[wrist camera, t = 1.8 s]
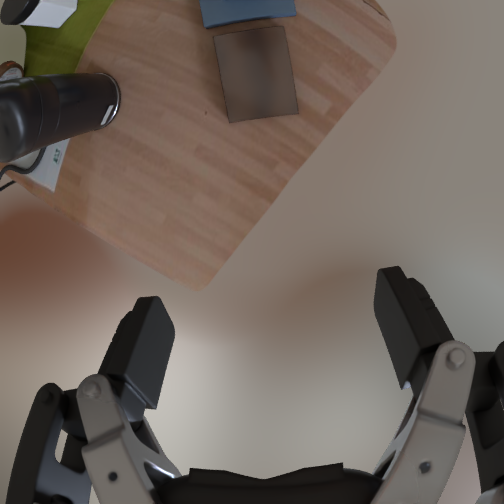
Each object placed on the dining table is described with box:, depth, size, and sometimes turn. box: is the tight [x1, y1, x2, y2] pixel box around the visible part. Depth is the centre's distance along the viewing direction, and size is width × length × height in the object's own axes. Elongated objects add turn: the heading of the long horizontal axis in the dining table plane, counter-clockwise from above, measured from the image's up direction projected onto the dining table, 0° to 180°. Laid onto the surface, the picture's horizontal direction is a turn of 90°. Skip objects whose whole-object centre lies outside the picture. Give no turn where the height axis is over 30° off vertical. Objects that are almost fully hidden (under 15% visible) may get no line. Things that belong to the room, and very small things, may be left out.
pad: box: [213, 26, 299, 123], centre depth 31 cm, size 9×12×2 cm
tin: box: [0, 61, 24, 81], centre depth 28 cm, size 15×3×8 cm, turn 145°
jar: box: [0, 0, 77, 28], centre depth 18 cm, size 9×8×12 cm
